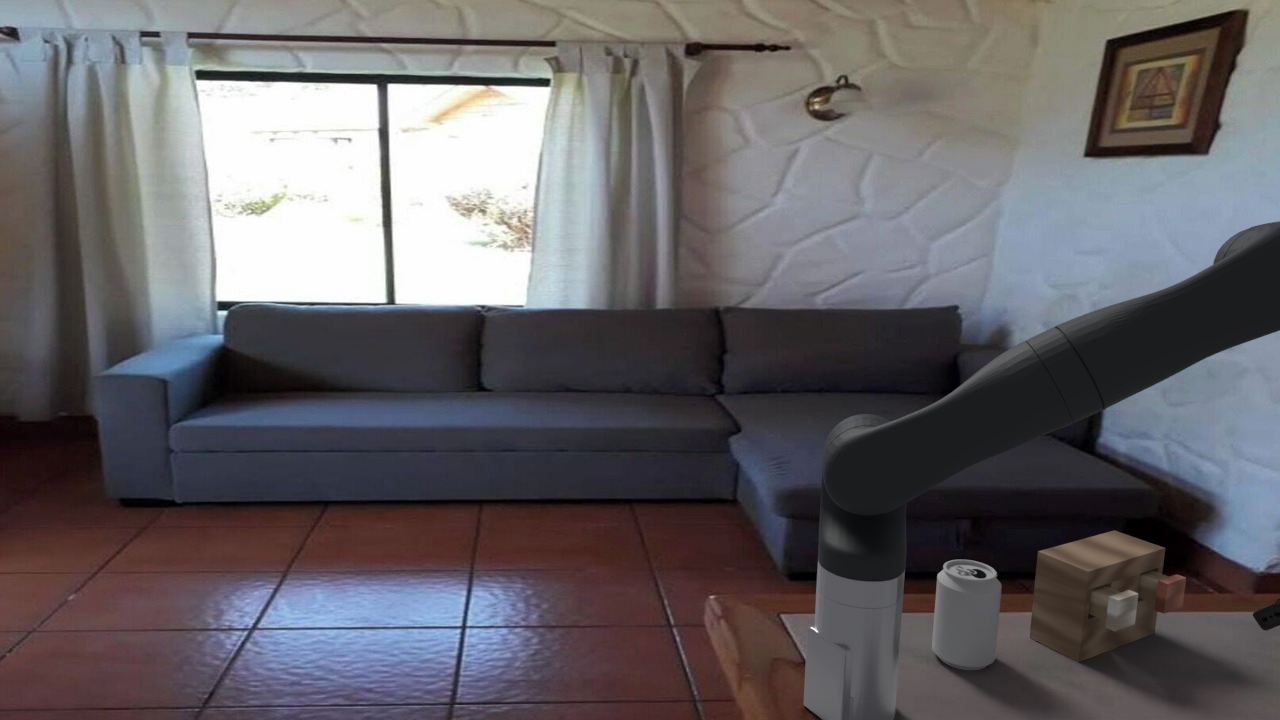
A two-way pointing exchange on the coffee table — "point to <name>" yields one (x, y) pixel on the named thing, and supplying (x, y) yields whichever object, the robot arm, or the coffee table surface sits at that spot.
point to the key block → (1068, 592)
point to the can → (966, 614)
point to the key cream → (1113, 607)
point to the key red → (1162, 590)
